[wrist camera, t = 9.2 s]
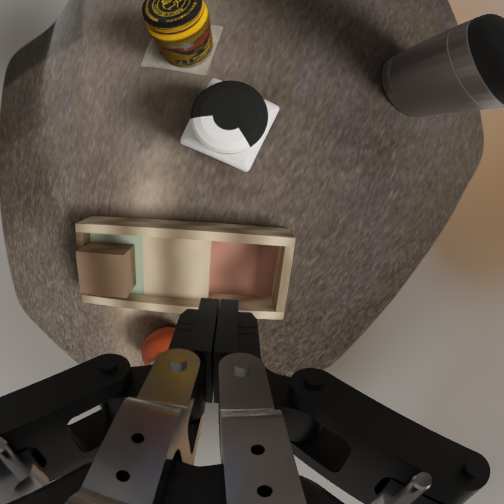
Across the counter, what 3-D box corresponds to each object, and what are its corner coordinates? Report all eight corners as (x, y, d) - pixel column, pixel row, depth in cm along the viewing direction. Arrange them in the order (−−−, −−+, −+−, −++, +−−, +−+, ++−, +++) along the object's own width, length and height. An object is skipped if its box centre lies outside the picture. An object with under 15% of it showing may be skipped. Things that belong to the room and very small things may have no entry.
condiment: (206, 76, 29) (195, 36, 18) (140, 66, 28) (103, 30, 16) (223, 27, 27) (222, -25, 16) (159, 19, 26) (134, -29, 14)
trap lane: (287, 228, 35) (295, 238, 31) (277, 302, 38) (282, 319, 34) (91, 215, 33) (75, 223, 29) (96, 287, 36) (83, 302, 32)
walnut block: (134, 244, 32) (123, 255, 28) (136, 283, 33) (126, 298, 30) (90, 241, 31) (75, 251, 28) (93, 279, 33) (80, 292, 29)
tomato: (194, 363, 41) (189, 401, 33) (146, 351, 40) (133, 387, 32) (203, 323, 39) (198, 360, 31) (151, 310, 38) (135, 344, 30)
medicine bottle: (215, 92, 30) (208, 59, 18) (270, 117, 31) (292, 95, 20) (188, 146, 32) (166, 138, 20) (244, 170, 33) (252, 175, 22)
